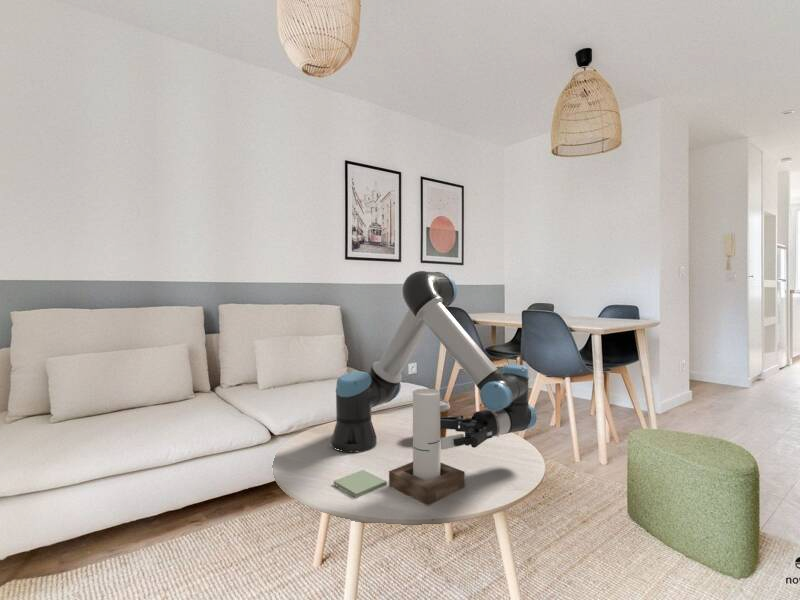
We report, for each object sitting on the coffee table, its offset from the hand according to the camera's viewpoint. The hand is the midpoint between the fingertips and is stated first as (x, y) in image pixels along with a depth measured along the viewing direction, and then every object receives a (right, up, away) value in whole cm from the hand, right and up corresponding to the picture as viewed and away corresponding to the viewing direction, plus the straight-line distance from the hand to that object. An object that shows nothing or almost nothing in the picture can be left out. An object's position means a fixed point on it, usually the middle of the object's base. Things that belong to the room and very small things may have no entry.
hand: (426, 435), depth 110 cm
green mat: (-18, -14, +2) cm, 22 cm away
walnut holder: (0, -14, +1) cm, 14 cm away
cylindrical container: (0, -14, +1) cm, 14 cm away
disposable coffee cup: (+6, -13, +40) cm, 42 cm away
